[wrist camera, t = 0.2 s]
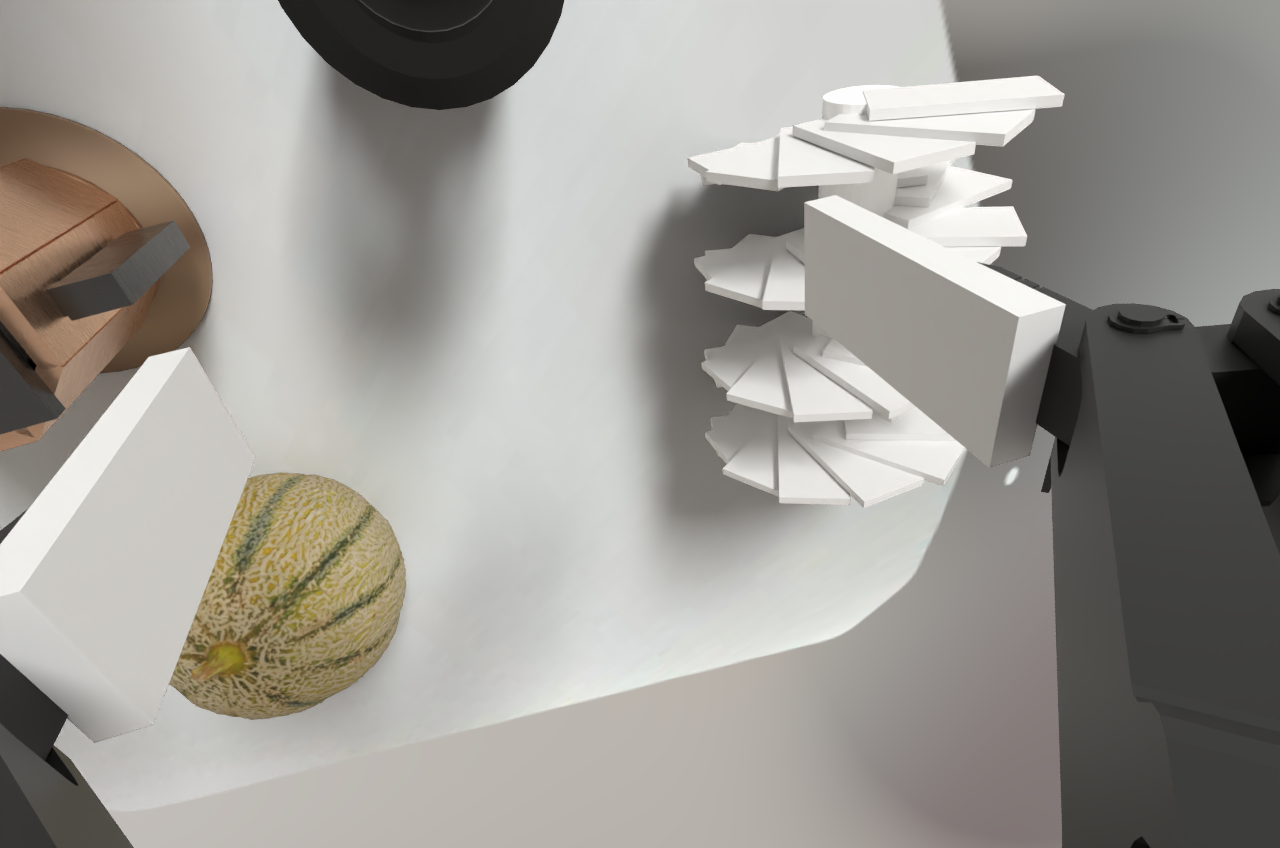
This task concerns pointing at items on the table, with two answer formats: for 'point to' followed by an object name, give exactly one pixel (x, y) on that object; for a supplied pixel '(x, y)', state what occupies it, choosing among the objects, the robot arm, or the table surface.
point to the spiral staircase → (775, 280)
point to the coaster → (144, 196)
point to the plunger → (16, 343)
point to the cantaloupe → (292, 600)
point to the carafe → (68, 289)
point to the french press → (428, 45)
